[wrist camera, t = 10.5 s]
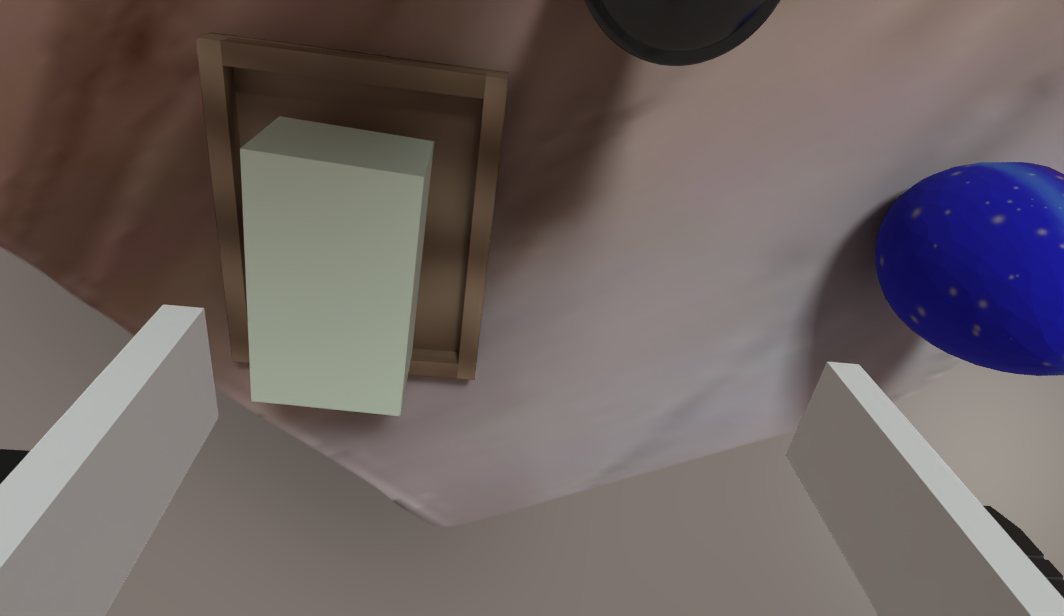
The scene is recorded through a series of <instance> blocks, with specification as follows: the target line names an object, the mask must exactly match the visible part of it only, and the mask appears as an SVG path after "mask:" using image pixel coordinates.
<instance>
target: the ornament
mask: <svg viewBox="0 0 1064 616" xmlns="http://www.w3.org/2000/svg"><path fill="white" fill-rule="evenodd" d="M875 252H876V269H877V274H878V279H879V282H880V285H881V288H882V290H883V293H884V296H885V298H886V300H887V301H888V303H889V304H890V306H891V307H892V309H893V310H894V312H895V313H896V314H897V315H898V317H899V318H900V319H901V320H902V321H903V322H904V323H905V324H906V325H907V326H908V327H909V328H910V329H912V330H913V331H914V332H915V333H917V334H918V335H920V336H921V337H922V338H924V339H925V340H927V341H928V342H929V343H931V344H932V345H934V346H936V347H937V348H939V349H941V350H943V351H944V352H946V353H948V354H951V355H953V356H955V357H958V358H960V359H963V360H965V361H968V362H970V363H973V364H975V365H979V366H983V367H986V368H991V369H994V370H998V371H1003V372H1009V373H1015V374H1024V375H1036V376H1043V375H1044V376H1046V375H1064V174H1062V173H1060V172H1058V171H1056V170H1054V169H1052V168H1050V167H1046V166H1042V165H1037V164H1032V163H1023V162H1002V163H976V164H970V165H964V166H958V167H953V168H950V169H948V170H945V171H942V172H939V173H937V174H934V175H932V176H929V177H927V178H925V179H923V180H921V181H920V182H918V183H917V184H915V185H914V186H912V187H911V188H910V189H909V190H907V191H906V192H905V193H904V194H902V195H901V196H900V197H899V198H898V199H897V201H896V202H895V203H894V204H893V205H892V207H891V208H890V209H889V211H888V213H887V214H886V216H885V218H884V220H883V222H882V225H881V227H880V229H879V232H878V236H877V243H876V251H875Z"/></svg>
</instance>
